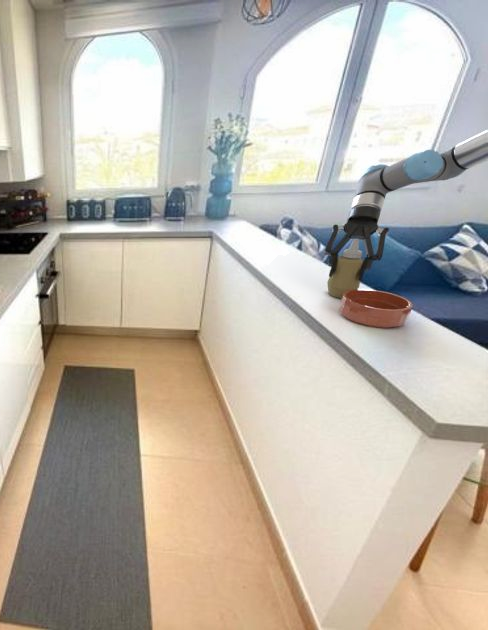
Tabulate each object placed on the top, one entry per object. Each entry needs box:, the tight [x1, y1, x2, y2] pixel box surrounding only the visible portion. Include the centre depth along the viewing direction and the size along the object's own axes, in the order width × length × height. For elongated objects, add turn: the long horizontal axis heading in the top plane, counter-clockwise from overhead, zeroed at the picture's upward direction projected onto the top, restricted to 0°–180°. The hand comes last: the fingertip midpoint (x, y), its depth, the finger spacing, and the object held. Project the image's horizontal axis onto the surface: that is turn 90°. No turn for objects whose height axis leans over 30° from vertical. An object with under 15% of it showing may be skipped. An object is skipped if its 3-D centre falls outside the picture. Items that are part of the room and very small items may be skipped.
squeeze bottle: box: [327, 239, 364, 299], centre depth 105 cm, size 8×8×18 cm
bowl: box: [338, 288, 414, 329], centre depth 94 cm, size 14×14×6 cm
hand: (345, 276), depth 104 cm, fingers closed on squeeze bottle, 6 cm apart
